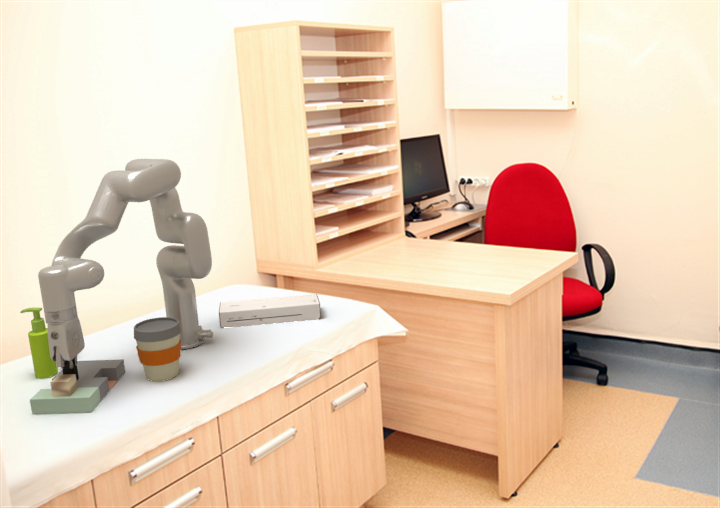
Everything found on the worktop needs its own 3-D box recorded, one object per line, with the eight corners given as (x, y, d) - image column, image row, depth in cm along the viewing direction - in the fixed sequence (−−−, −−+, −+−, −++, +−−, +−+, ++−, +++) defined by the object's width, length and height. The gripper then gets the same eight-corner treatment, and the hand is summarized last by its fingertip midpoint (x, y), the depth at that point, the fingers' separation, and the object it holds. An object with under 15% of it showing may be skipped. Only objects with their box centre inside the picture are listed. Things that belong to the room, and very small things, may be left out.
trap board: (125, 372, 188) (123, 359, 187) (91, 412, 164) (89, 397, 163) (73, 374, 188) (71, 361, 187) (32, 414, 165) (29, 399, 164)
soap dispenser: (36, 371, 191) (25, 306, 186) (60, 369, 192) (50, 304, 187) (28, 379, 186) (16, 312, 181) (53, 377, 186) (42, 311, 181)
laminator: (220, 329, 220) (218, 312, 219) (221, 317, 232) (220, 301, 230) (321, 320, 225) (320, 303, 224) (317, 309, 237) (316, 292, 235)
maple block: (77, 388, 169) (75, 374, 168) (70, 396, 165) (67, 381, 164) (60, 389, 169) (58, 374, 168) (52, 396, 165) (50, 382, 164)
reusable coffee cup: (194, 368, 188) (189, 319, 185) (165, 387, 177) (159, 334, 173) (160, 363, 193) (154, 315, 190) (129, 380, 182) (122, 329, 179)
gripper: (62, 324, 159) (73, 393, 163) (87, 304, 173) (97, 368, 178) (31, 325, 159) (43, 394, 164) (59, 305, 174) (70, 369, 178)
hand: (71, 380), depth 171 cm, fingers closed
